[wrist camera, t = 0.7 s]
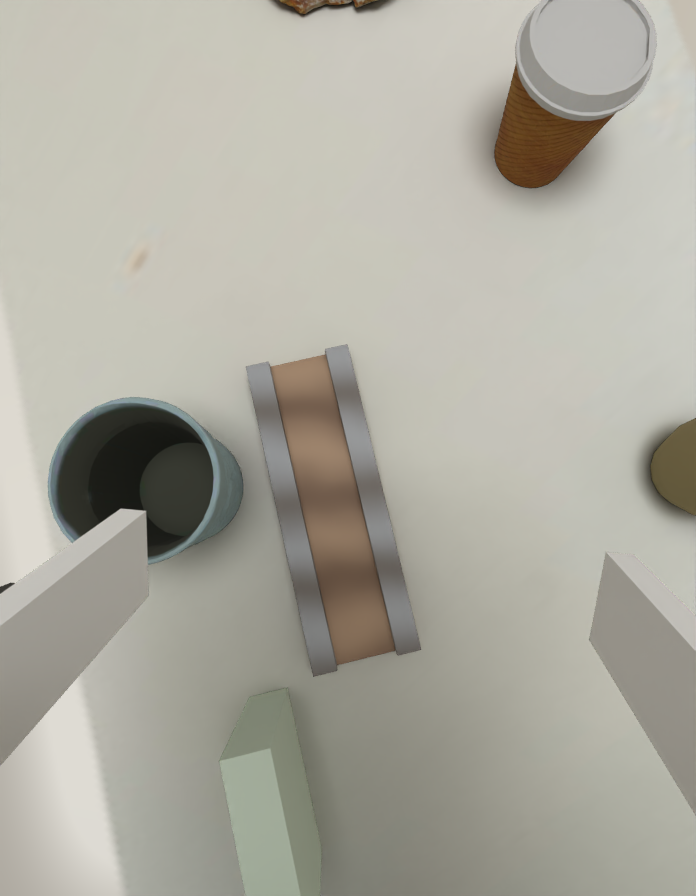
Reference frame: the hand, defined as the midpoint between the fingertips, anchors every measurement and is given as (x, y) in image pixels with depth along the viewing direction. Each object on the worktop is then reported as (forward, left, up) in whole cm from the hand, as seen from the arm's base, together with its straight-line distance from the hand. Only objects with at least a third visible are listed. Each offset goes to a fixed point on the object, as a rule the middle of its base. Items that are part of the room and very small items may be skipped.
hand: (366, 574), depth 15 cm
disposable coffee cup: (+29, -23, -29) cm, 47 cm away
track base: (+3, +1, -28) cm, 28 cm away
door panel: (-16, +9, -28) cm, 34 cm away
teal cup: (+6, +12, -29) cm, 31 cm away
